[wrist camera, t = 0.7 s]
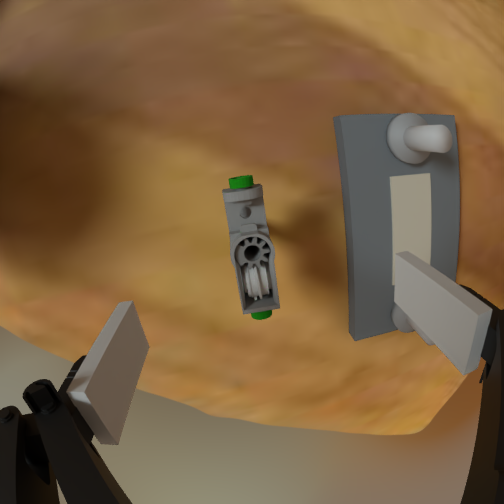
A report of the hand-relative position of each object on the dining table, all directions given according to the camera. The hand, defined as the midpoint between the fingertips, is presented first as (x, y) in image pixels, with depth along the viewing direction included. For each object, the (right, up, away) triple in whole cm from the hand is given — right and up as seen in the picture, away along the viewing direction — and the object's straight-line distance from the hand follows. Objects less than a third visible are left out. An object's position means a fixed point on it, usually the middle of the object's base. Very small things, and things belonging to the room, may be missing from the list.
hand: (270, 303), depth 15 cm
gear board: (+16, +5, +17) cm, 24 cm away
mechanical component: (-2, +5, +16) cm, 17 cm away
